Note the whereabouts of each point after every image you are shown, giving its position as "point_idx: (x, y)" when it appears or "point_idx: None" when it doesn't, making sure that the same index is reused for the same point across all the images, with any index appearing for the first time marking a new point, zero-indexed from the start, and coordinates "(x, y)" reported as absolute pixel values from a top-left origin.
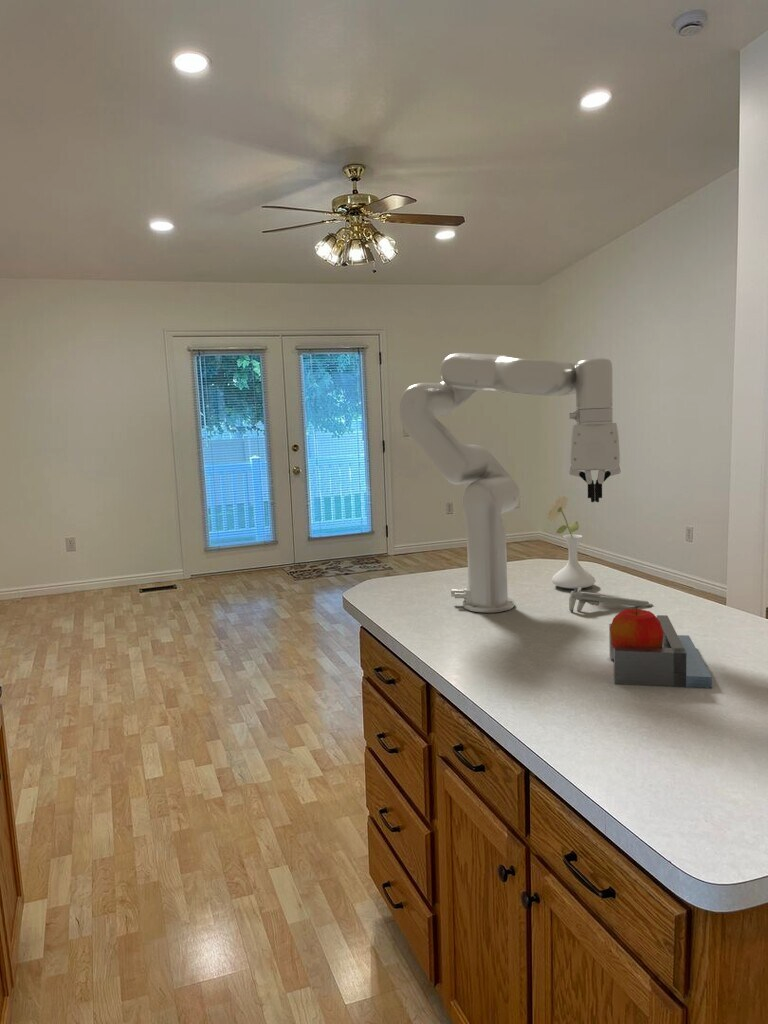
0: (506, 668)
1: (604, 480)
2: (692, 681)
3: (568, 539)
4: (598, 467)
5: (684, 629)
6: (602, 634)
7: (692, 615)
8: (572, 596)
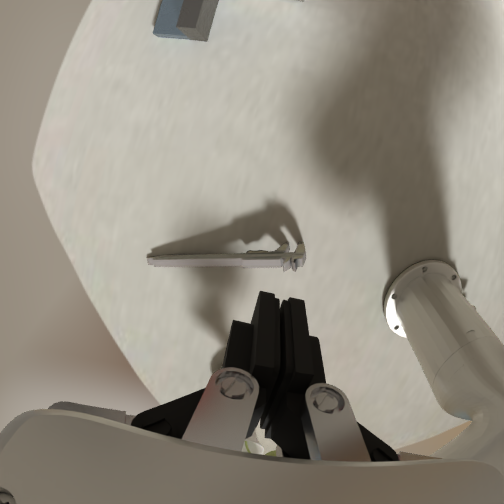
0: (456, 3)
1: (198, 393)
2: None
3: (256, 441)
4: (267, 473)
5: (134, 117)
6: (284, 101)
7: (101, 195)
8: (302, 254)
